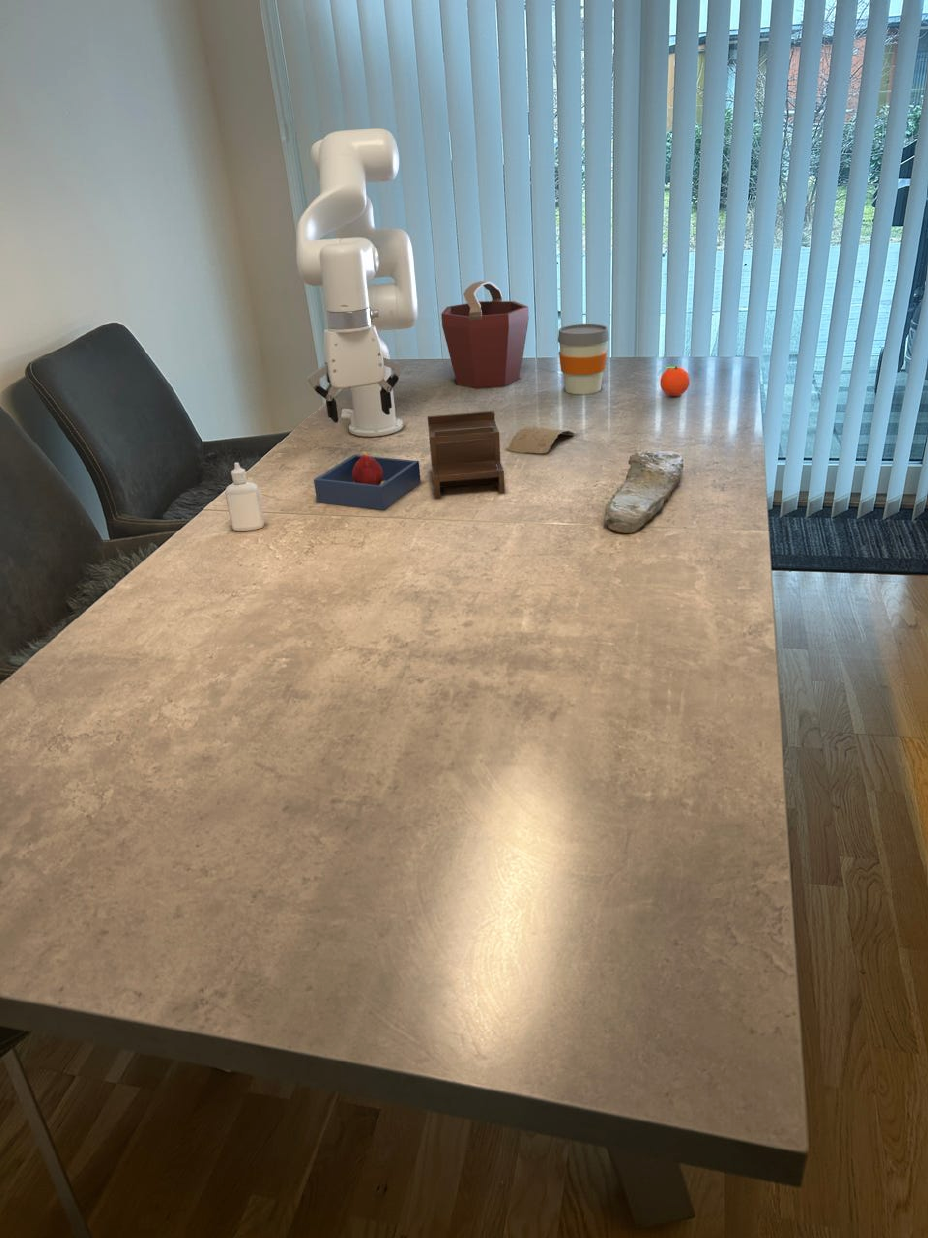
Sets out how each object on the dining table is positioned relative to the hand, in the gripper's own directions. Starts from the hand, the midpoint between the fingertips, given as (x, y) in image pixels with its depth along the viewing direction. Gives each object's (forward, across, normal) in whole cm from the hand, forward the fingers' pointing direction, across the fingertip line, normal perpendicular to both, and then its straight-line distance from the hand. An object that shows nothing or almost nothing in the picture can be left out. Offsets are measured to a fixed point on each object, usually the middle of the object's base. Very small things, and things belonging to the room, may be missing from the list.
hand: (360, 416), depth 163 cm
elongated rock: (+15, -44, +27) cm, 54 cm away
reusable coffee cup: (+14, -68, -45) cm, 83 cm away
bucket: (+14, -50, -68) cm, 86 cm away
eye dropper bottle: (+15, +24, +6) cm, 29 cm away
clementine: (+14, -84, -28) cm, 89 cm away
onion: (+15, 0, -1) cm, 15 cm away
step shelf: (+15, -19, +4) cm, 24 cm away
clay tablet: (+15, -41, -11) cm, 45 cm away
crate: (+15, 0, -1) cm, 15 cm away
